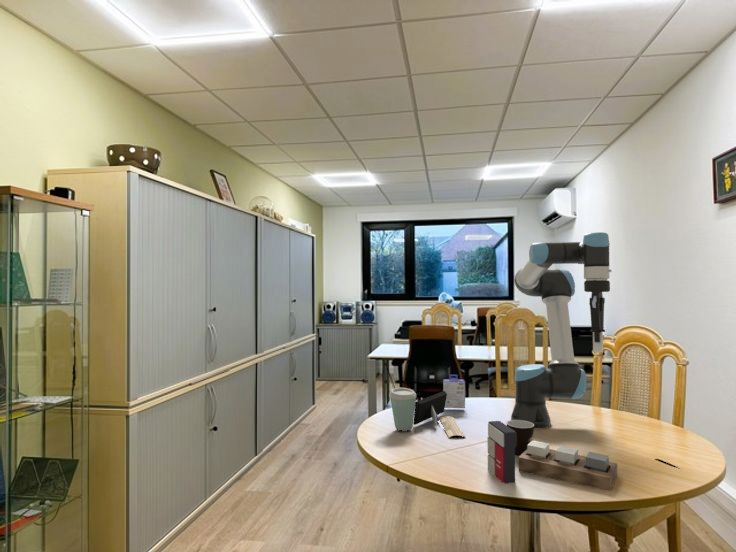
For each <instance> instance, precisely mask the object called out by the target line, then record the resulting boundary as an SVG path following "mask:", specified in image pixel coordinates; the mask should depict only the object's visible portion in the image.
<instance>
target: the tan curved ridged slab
mask: <svg viewBox="0 0 736 552" xmlns="http://www.w3.org/2000/svg"><path fill="white" fill-rule="evenodd" d="M438 420H440V422H441V424H442V425H443V427H444V429H445V430H444V431H445V433H446V435H447V437H448V438H450V437H451V438H452V437H453V436H457V437H458V436H459V437H462V436H463V437H464V438H463V437H462V438H463V439H466V435H465V434H464V433H463V431H462V430H461V427H460V426H459V425H458V423H457V421H456V420H455V418H454V417H453V416H449V415H447V416H444V415H443V416H440V417H439V418H438Z"/></svg>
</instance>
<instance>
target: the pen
mask: <svg viewBox="0 0 736 552" xmlns="http://www.w3.org/2000/svg"><path fill="white" fill-rule="evenodd" d="M654 461H657V462H660V463H661V464H665V465H667V466H669V467H673V468H677V469H679V470H681V467H680V468H679V467H678V466H676V465H673V464H672V463H669V462H667V461H664V460H663V459H659V458H654Z"/></svg>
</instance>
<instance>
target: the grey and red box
mask: <svg viewBox="0 0 736 552" xmlns="http://www.w3.org/2000/svg"><path fill="white" fill-rule="evenodd" d="M487 436H488V437H487V441H486V442H487V470H488V471H489V473H491V474H492V475H493V476H495V478H497V480H499V481H500V482H501V483H502V484H514V483H515V484H516V456H515V448H516V446H517V433H516V432H515V431H514V430H512V429H511V428H509V427H508V426H507V424H505V423H504V422H502V421H501V420H493V421H492V420H491V421H488V423H487Z"/></svg>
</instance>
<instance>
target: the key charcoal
mask: <svg viewBox="0 0 736 552" xmlns="http://www.w3.org/2000/svg"><path fill="white" fill-rule="evenodd" d="M585 457H586V466H587V467H589V469H592V470H596V471H601V472H605V473H606V469H607V467H608V466H609V462H610V455H608V454H603V453H602V454H601V453H597V452H591V451H589V452H588V453H587V454H586V456H585Z"/></svg>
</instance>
